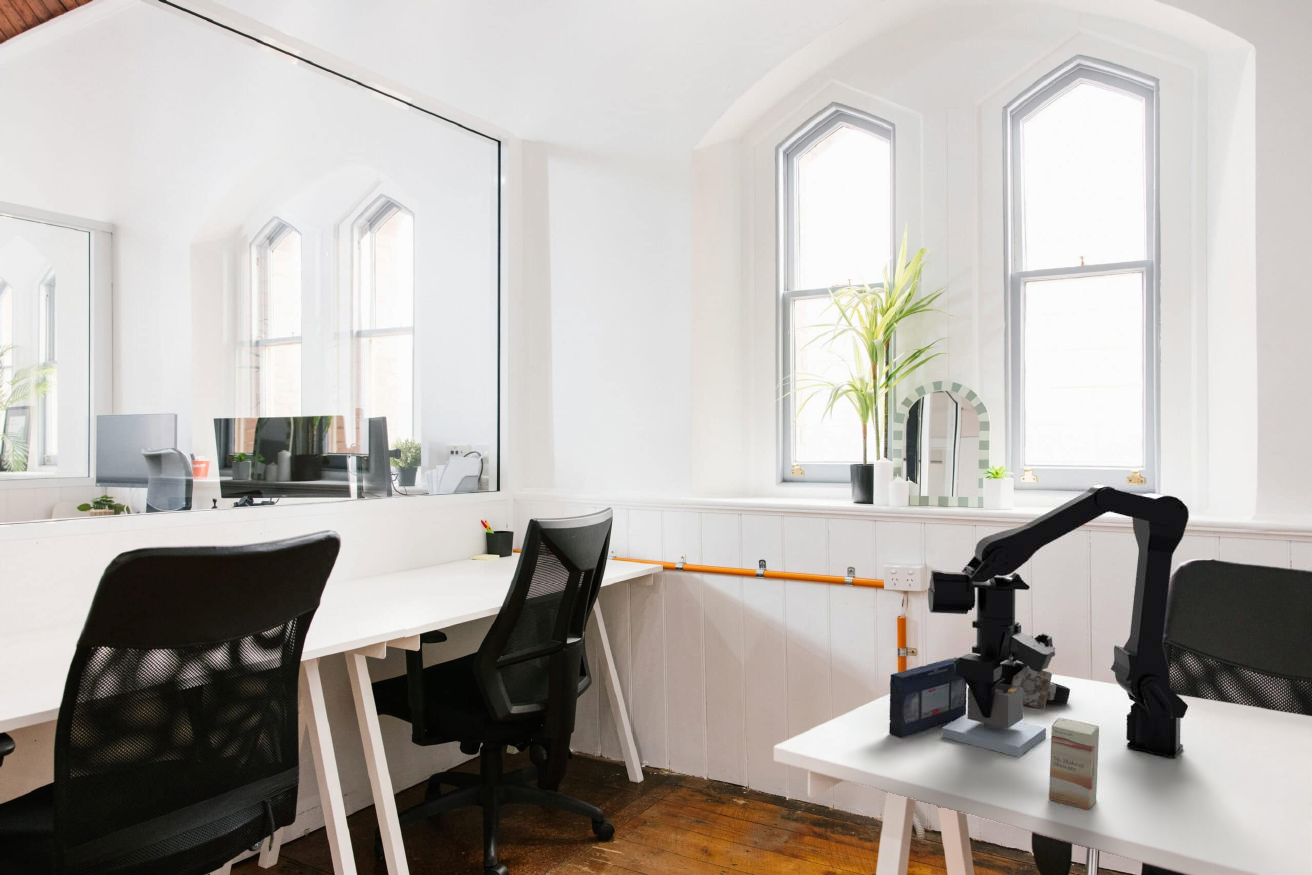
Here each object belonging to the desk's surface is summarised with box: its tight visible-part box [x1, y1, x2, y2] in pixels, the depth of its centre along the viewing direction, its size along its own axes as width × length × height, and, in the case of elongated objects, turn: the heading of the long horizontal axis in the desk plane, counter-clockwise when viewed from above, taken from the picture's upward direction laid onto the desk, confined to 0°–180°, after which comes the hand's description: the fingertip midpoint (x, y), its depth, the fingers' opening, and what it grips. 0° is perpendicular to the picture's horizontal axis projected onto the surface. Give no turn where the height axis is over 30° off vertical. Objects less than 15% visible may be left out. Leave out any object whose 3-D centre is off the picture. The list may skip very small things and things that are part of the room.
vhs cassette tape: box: [888, 657, 968, 739], centre depth 140 cm, size 18×3×10 cm, turn 126°
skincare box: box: [1048, 717, 1100, 811], centre depth 112 cm, size 5×4×10 cm
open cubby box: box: [967, 683, 1024, 729], centre depth 135 cm, size 6×6×5 cm
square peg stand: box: [941, 688, 1047, 758], centre depth 135 cm, size 12×12×8 cm
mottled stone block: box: [1013, 666, 1071, 710], centre depth 155 cm, size 7×11×10 cm
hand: (994, 712), depth 135 cm, fingers closed on open cubby box, 6 cm apart
